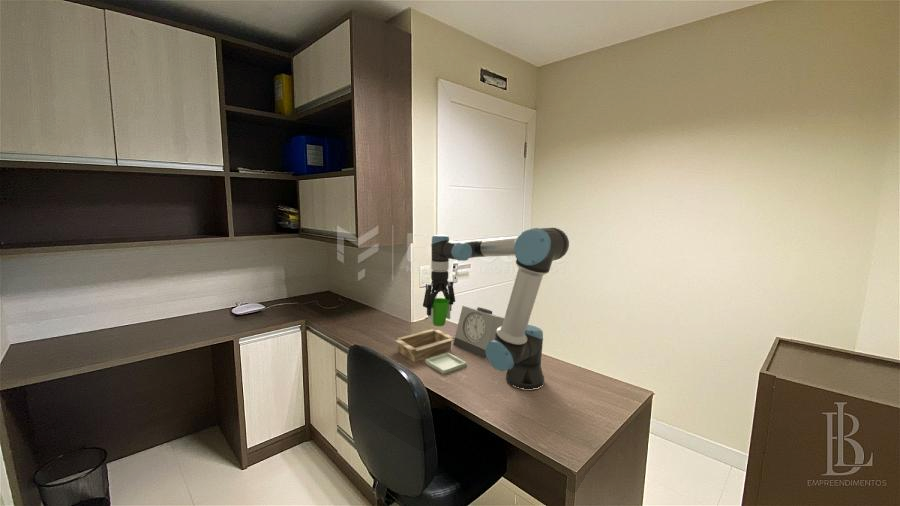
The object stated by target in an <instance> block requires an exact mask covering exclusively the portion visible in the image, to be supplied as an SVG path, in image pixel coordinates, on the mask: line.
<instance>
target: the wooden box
mask: <svg viewBox="0 0 900 506" xmlns="http://www.w3.org/2000/svg"><path fill="white" fill-rule="evenodd" d="M454 339H455V336H453V335H451V334H448V333H446V332H444V331H442V330H440V329H433V328H431V329H428V330H427V329H426V330H423V331H420V332H416V333H412V334H408V335H404V336H398V337H396V339H395V340H394V342H395V343H397V344H398V348H397V349H398V353H400V354H402V355H403V356H404V357H406V358H407V359H409V360H411V361H412V362H413V363H414V362H418V361H421V360H425V359H428V358H431V357H434V356H438V355H441V354H444V353H447V352H451V350H452V342H454Z"/></svg>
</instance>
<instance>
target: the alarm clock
mask: <svg viewBox="0 0 900 506" xmlns="http://www.w3.org/2000/svg"><path fill="white" fill-rule="evenodd" d="M504 318H505V317H503V316H500V315H496V314H493V311H492V310H491V309H487V308H483V307H477V308H475V307H469V306H466V305H462V307H461V311H460V315H459V319H458V323H457V327H456V332H455V335H454V339H453V340H454V341H453V345H452V346H454V347H456V348H459V349H461V350H463V351H465V352H467V353H469V354H472V355H473V356H477V357H478V356H479V358H481V359H483V360H485V358H486V359H488V358H487V357H486V352H485V349H486V345H487V344H488V342H489V341H491V340H494V337H495V334H496V330H497V328H498V327H500V326H502V325H503V321H504Z"/></svg>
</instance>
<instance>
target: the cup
mask: <svg viewBox="0 0 900 506" xmlns="http://www.w3.org/2000/svg"><path fill="white" fill-rule="evenodd" d="M449 302H450V301H449V300H448V299H445V297H436V298H435V300H434V303H433V305H432V308H433V323H432V324H433V326H436V327H443V326H445V324H446V321H447V318H446V315H447V310H448V304H449Z"/></svg>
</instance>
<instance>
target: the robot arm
mask: <svg viewBox="0 0 900 506" xmlns="http://www.w3.org/2000/svg"><path fill="white" fill-rule="evenodd" d="M430 246H431V263H430V264H431V273H430V275H431V276H430V278H431V283H429V284H425V292H424V297H423V298H424V299H423V304H422V306H423V308H426V315H427V322H428V323H430V324H433V308H432V305H433V303H434V300H435V298H437V295H438V294H439V293H440V292H442V294H443V298H445V299H448V300H449V301H450V302H449V304H448V310H447V315H446V320H447V319H448V320H450V319H451V312H452V309H453V308H452V306H453V305H454V303H455V302H456V295H455V291H454V290H455V289H454V281H452V280H448V279H449V269H450V268H449V267H450V265H449V263H450V262H449V261H450V259H451V260H455V261H458V262H459V261H463V262H465V261H468V260H470V259H472V258H485V257H486V258H487V257H509V256H510V257H511V256H512V257H513V256H514V257H515V258H516V260H515V265H516V266H517V268H518V269H517V273H516V277H515V280H514V283H513V287H512V290H511V293H510V297H509V301H508V304H507V307H506V311H505V315H504V317H503V318H504V321H503V325H502V326H500V327H498V328H497V330H496V334H495V337H494V340H491V341H489V342H488V344H487V345H486V349H485V352H486V357H487V358H486V359H487V361H488V363H489V364H490V365H491V366H492V367H493V368H494V369H495V370H497V371H500V372H505V371H506V373H505V380H507V381H506V383H507V384H509V383H510V384H511V385H514V386H516V387H519V388H524V389H533V388H538V387H540V386H542V385H543V383H544V384H545V376H544V374H543V369H542V365H541V364H542V356H543V345H544V344H543V342H544V332H543V330H542V329H541V328H540V327H537V326H534V325H531V324H529V321H530V318H531V315H532V312H533V308H534V305H535V303H536V299H537V296H538V292H539V289H540V286H541V282H542V280H543V276H545V275H546V274H548V273H549V272H550V269H551V266H552V263H553V261H558V260H560V259H561V258H562V259H563V257H564V256H565V255H566V254H567V252H568V251H569V248H570V240H569V237H568V235H567V233H565V231H563V230H561V229H560V228H556V227H542V228H538V227H535V228H530V229H526V230H524V231H523V232H521V233H519V234H518V236H509V237H508V236H505V237H496V238H485V239H484V238H483V239H481V238H480V239H472V240H459V241H457V240H456V241H455V240H450V237H449V235H446V234H435V235H433V236H431V244H430ZM510 384H509V385H510ZM511 385H510V386H511ZM543 386H544V385H543Z"/></svg>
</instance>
